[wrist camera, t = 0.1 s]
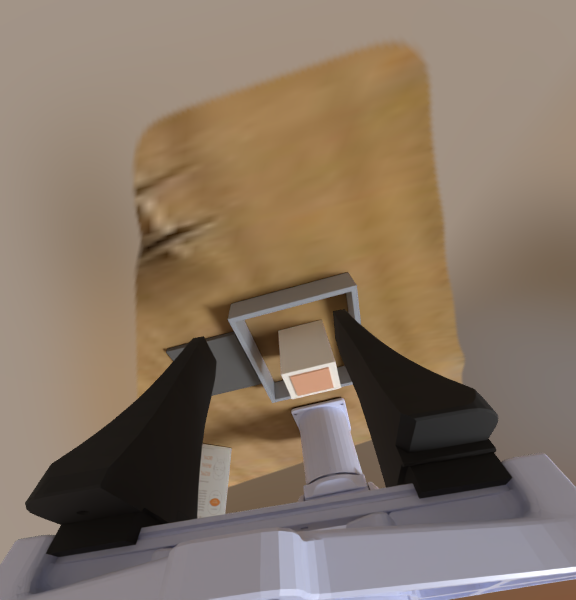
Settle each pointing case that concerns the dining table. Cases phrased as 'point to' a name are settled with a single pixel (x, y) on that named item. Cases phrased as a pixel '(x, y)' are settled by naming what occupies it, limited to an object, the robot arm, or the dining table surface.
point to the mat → (227, 363)
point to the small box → (213, 480)
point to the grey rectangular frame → (283, 301)
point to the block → (307, 360)
